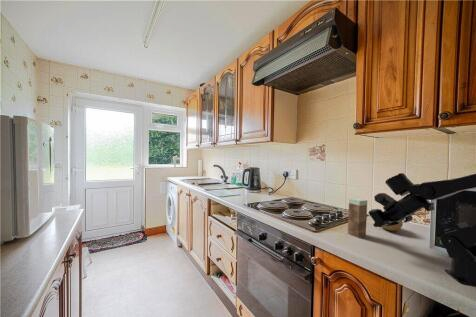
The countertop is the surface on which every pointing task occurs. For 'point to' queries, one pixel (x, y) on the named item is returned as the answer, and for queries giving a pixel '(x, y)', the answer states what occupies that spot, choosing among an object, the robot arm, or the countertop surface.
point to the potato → (394, 226)
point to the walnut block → (357, 217)
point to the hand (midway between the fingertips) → (374, 225)
